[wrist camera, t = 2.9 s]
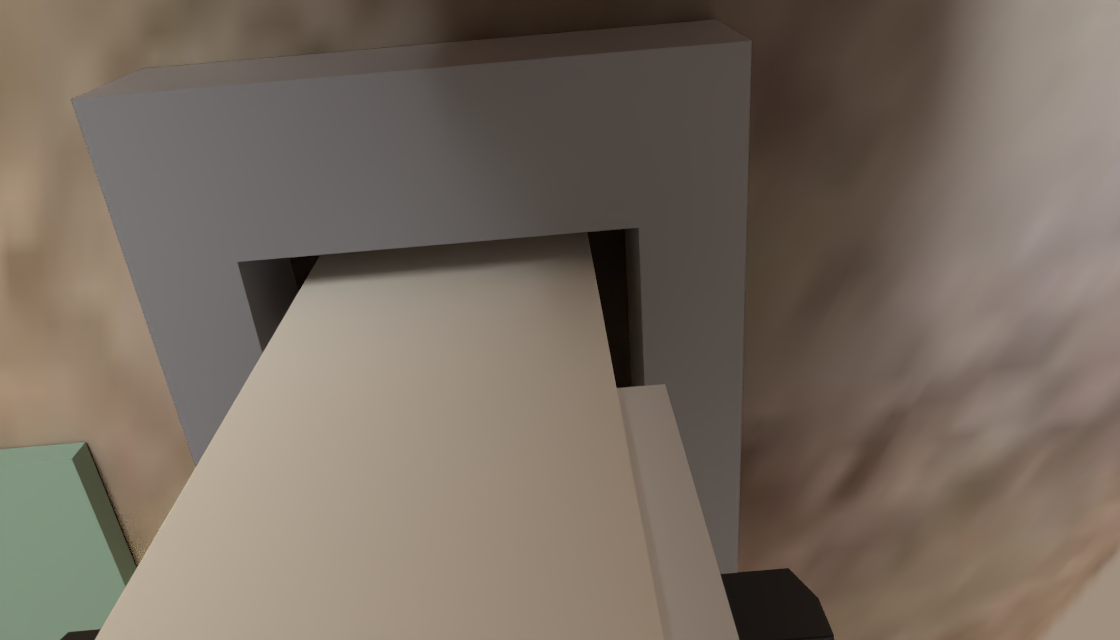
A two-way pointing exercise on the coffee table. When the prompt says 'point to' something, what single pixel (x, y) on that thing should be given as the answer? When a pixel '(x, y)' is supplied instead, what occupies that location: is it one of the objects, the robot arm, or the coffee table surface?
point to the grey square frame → (444, 197)
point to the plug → (414, 466)
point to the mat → (57, 544)
